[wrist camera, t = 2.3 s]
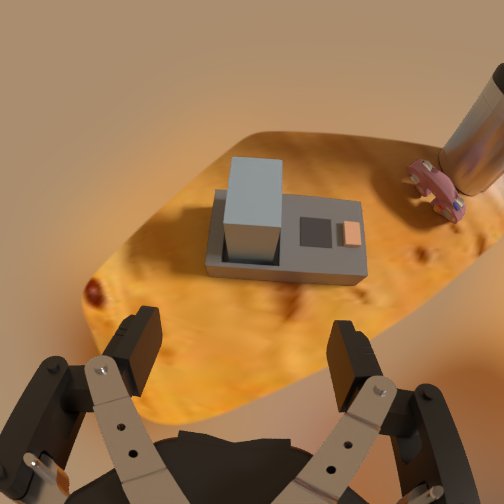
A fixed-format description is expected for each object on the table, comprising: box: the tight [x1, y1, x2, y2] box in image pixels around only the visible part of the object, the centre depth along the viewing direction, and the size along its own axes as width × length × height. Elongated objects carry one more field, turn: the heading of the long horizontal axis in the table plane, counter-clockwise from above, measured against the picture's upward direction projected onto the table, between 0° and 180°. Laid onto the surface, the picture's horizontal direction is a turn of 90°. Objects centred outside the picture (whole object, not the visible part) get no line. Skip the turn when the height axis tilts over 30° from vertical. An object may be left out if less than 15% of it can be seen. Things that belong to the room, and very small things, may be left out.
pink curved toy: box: [407, 159, 466, 224], centre depth 31 cm, size 10×5×7 cm, turn 36°
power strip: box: [205, 190, 368, 286], centre depth 29 cm, size 15×8×4 cm, turn 86°
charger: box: [223, 157, 282, 266], centre depth 25 cm, size 4×6×8 cm, turn 176°
